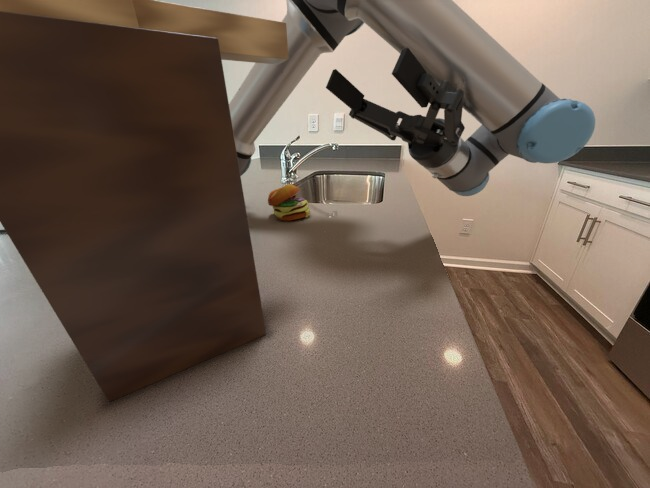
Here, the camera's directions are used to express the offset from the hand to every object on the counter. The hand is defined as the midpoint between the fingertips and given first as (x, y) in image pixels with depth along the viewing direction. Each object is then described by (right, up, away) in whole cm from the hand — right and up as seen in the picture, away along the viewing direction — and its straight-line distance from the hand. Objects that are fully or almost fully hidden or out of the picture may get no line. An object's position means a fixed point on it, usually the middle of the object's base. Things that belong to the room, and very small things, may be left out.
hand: (359, 70), depth 33 cm
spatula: (-18, -5, -10) cm, 22 cm away
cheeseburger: (-14, -14, +40) cm, 45 cm away
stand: (-22, -33, 0) cm, 40 cm away
